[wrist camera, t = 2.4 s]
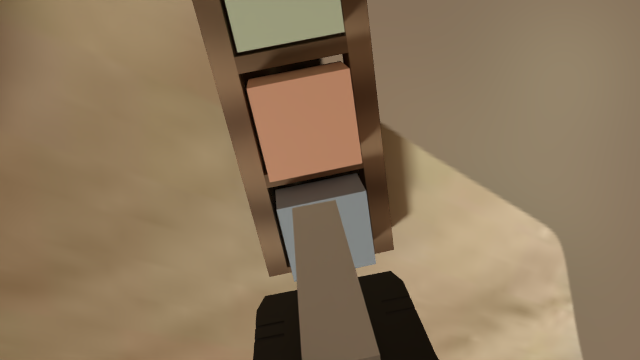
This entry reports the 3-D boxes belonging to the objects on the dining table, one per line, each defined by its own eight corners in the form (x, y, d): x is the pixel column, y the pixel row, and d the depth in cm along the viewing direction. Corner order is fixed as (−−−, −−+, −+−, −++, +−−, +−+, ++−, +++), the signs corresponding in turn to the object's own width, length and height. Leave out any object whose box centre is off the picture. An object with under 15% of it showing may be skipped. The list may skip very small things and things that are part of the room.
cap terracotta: (269, 164, 28) (269, 182, 25) (248, 79, 25) (246, 88, 23) (352, 147, 28) (362, 163, 26) (340, 60, 26) (349, 68, 23)
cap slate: (291, 257, 31) (294, 281, 29) (275, 189, 29) (276, 209, 26) (366, 241, 32) (375, 263, 29) (356, 172, 29) (365, 190, 26)
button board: (385, 233, 34) (393, 249, 32) (269, 258, 34) (269, 276, 31) (345, -104, 24) (354, -115, 22) (178, -75, 23) (168, -83, 21)
